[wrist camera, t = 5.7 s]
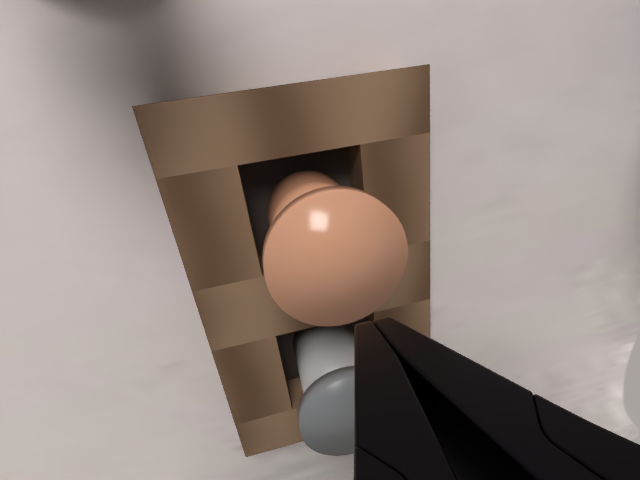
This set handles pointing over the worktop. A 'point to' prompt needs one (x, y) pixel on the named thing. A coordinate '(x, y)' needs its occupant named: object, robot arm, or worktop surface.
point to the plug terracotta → (330, 250)
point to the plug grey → (326, 388)
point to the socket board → (252, 223)
